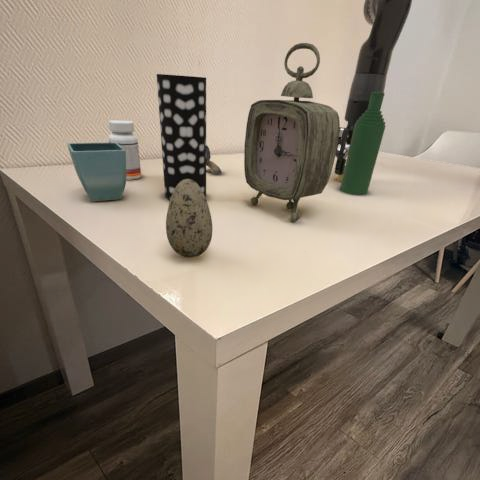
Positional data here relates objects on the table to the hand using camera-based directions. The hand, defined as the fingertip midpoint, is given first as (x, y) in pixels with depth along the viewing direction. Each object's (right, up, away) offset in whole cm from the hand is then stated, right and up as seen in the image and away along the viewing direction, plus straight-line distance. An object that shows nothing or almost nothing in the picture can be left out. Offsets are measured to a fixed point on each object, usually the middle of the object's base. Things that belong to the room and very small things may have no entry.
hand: (348, 172), depth 87 cm
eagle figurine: (-38, 0, +1) cm, 38 cm away
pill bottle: (-55, -5, -9) cm, 56 cm away
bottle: (-1, -8, -7) cm, 10 cm away
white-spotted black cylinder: (-39, -14, -19) cm, 46 cm away
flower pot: (-55, -15, -22) cm, 61 cm away
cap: (0, -1, +2) cm, 2 cm away
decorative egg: (-35, -30, -41) cm, 62 cm away
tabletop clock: (-20, -18, -23) cm, 35 cm away
